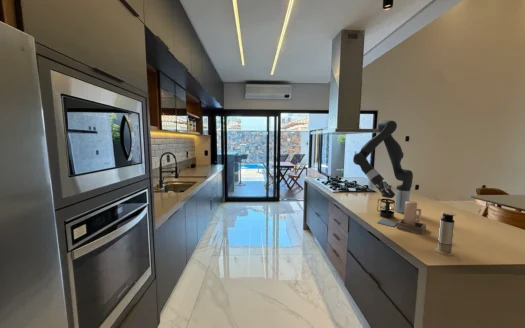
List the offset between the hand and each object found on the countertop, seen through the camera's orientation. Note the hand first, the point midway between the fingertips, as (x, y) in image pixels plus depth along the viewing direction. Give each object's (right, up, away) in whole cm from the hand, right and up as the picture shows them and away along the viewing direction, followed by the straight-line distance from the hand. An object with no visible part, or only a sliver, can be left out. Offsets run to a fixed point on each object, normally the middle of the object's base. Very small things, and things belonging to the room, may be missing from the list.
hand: (391, 196), depth 148 cm
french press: (+6, -17, +17) cm, 25 cm away
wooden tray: (+8, -20, -7) cm, 22 cm away
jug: (+8, -20, -7) cm, 23 cm away
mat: (-1, -19, +3) cm, 19 cm away
